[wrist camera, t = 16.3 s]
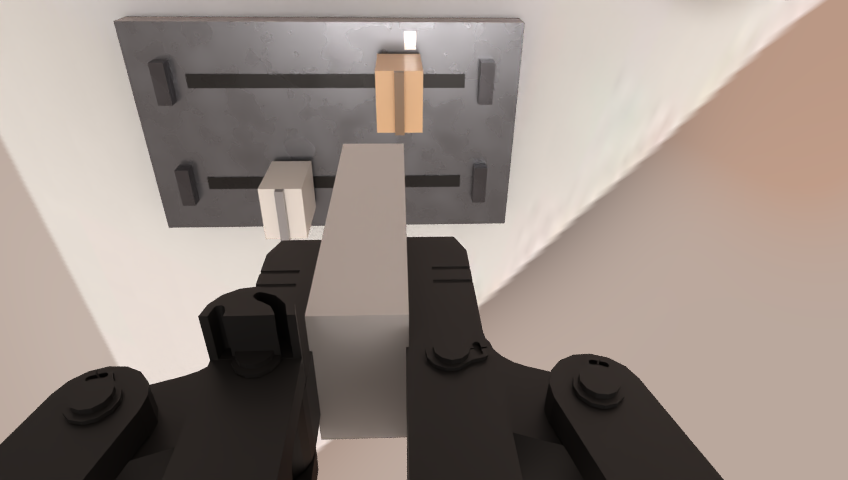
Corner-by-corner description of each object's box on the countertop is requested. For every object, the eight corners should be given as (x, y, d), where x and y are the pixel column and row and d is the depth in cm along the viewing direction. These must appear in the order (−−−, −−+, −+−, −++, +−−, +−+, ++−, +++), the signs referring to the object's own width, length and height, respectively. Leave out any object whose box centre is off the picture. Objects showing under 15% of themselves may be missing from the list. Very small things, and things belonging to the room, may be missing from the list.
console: (126, 16, 38) (106, 23, 35) (518, 18, 39) (527, 25, 36) (177, 216, 46) (164, 233, 43) (500, 212, 47) (506, 228, 45)
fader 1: (271, 161, 41) (255, 192, 36) (311, 161, 41) (300, 191, 37) (278, 207, 43) (264, 242, 39) (316, 207, 43) (306, 242, 39)
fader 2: (377, 53, 37) (374, 72, 33) (420, 53, 38) (423, 72, 33) (379, 109, 40) (376, 135, 35) (419, 109, 40) (422, 135, 35)
